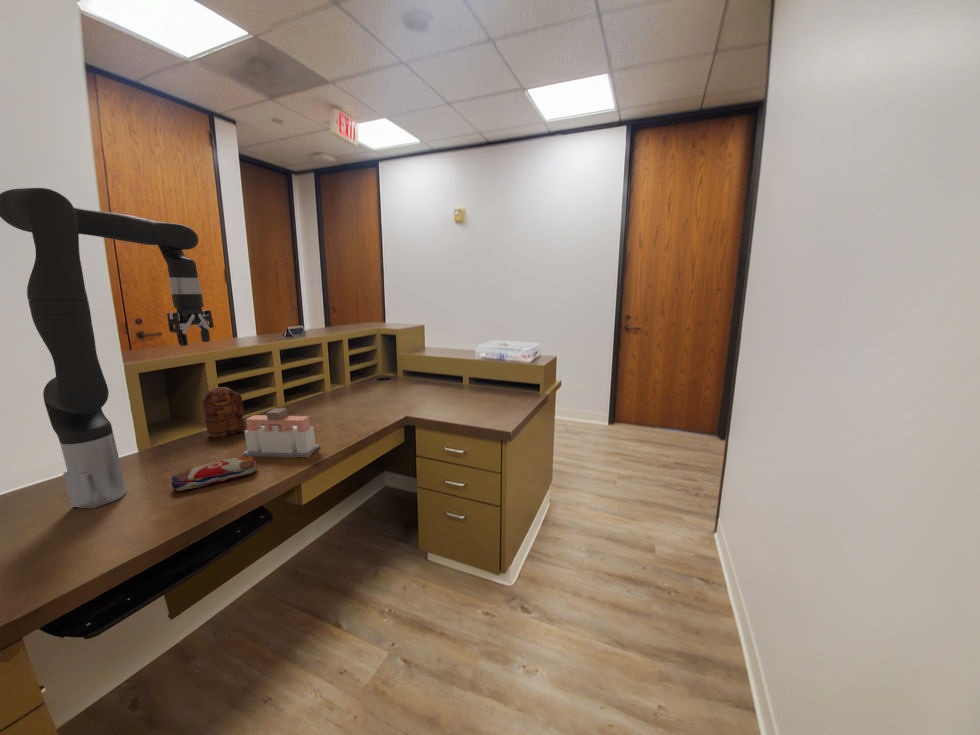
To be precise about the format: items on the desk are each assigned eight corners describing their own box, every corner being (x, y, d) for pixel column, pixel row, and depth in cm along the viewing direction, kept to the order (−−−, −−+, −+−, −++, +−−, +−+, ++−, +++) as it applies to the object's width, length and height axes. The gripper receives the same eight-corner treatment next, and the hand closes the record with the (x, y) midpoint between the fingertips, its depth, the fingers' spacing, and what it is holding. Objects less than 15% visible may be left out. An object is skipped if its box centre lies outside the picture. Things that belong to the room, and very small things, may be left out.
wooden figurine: (210, 440, 134) (201, 392, 130) (207, 435, 139) (199, 388, 135) (248, 431, 142) (241, 386, 138) (244, 427, 147) (237, 382, 143)
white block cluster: (307, 457, 120) (304, 428, 118) (242, 456, 122) (238, 427, 120) (320, 447, 128) (317, 419, 126) (258, 445, 129) (254, 418, 127)
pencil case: (251, 484, 105) (248, 467, 104) (165, 497, 98) (162, 480, 97) (260, 466, 115) (257, 451, 114) (183, 477, 109) (180, 461, 107)
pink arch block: (303, 432, 120) (301, 413, 119) (247, 431, 122) (244, 412, 120) (310, 427, 125) (308, 408, 123) (256, 426, 126) (253, 407, 124)
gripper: (178, 293, 110) (187, 347, 113) (215, 292, 124) (223, 340, 127) (154, 293, 110) (164, 347, 114) (194, 292, 124) (202, 340, 128)
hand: (195, 343), depth 121 cm, fingers open, 8 cm apart
